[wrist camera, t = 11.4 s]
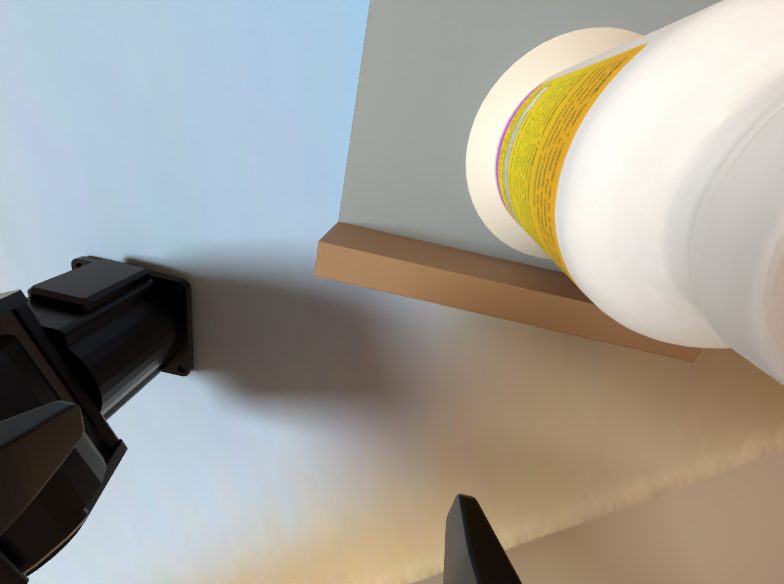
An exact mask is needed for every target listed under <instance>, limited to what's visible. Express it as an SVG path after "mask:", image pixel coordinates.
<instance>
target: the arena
mask: <svg viewBox="0 0 784 584" xmlns="http://www.w3.org/2000/svg"><path fill="white" fill-rule="evenodd" d="M720 1H723V0H370V5H369V12H368V19H367V26H366V33H365V40H364V47H363V54H362V61H361V68H360V75H359V82H358V89H357V96H356V102H355V109H354V116H353V123H352V130H351V137H350V144H349V151H348V158H347V165H346V172H345V179H344V186H343V193H342V200H341V207H340V214H339V221H338V222H337V223H336V224H335V225H334V226H333V227H332V228H331V229H330V230H329V231H328V232H327V233H326V234H325V235H324V236H323V237H322V238H321V239H320V240H319V241H318V250H317V258H316V266H315V274H314V276H318V277H323V278H327V279H332V280H336V281H340V282H345V283H349V284H353V285H358V286H362V287H367V288H371V289H375V290H380V291H384V292H388V293H393V294H397V295H401V296H406V297H410V298H415V299H419V300H423V301H428V302H432V303H436V304H441V305H445V306H450V307H454V308H458V309H463V310H467V311H471V312H476V313H480V314H484V315H489V316H493V317H498V318H502V319H506V320H511V321H515V322H519V323H524V324H528V325H533V326H537V327H541V328H546V329H550V330H554V331H559V332H563V333H567V334H572V335H576V336H581V337H585V338H589V339H594V340H598V341H602V342H607V343H611V344H616V345H620V346H624V347H629V348H633V349H637V350H642V351H646V352H650V353H655V354H659V355H664V356H668V357H672V358H677V359H681V360H685V361H690V362H694V361H695V359H696V358H697V356H698V355H699V353H700V352H701V350H702V349H703V348H698V347H687V346H681V345H676V344H670V343H666V342H662V341H659V340H655V339H653V338H650V337H647V336H645V335H642V334H639V333H637V332H635V331H633V330H630V329H628V328H627V327H625V326H623V325H622V324H620V323H618V322H617V321H615V320H614V319H612V318H611V317H609V316H608V315H607V314H605V313H604V312H603V311H602V310H600V309H599V308H598V307H597V306H596V305H595V304H594V303H593V302H592V301H591V300H590V299H589V298H588V297H587V296H586V295H585V294H584V293H583V292H582V291H581V290H580V289H579V288H578V287H577V286H576V285H575V283H574V282H573V281H572V280H571V279H570V278H569V277H568V276H567V275H566V274H565V273H564V272H563V271H562V269H561V268H560V267H559V266H558V265H557V264H556V263H555V262H554V261H553V260H552V259H551V258H550V257H549V256H548V255H547V254H546V253H545V252H544V250H543V249H542V248H541V247H540V246H539V245H538V244H537V243H536V242H535V241H534V240H533V239H532V238H531V237H530V236H529V235H528V234H527V233H526V232H525V231H524V230H523V229H522V228H521V227H520V225H519V224H518V223H517V222H516V221H515V220H514V219H513V218H512V217H511V215H510V214H509V213H508V211H507V210H506V208H505V207H504V205H503V203H502V201H501V199H500V197H499V194H498V190H497V187H496V182H495V176H494V161H495V153H496V148H497V144H498V140H499V137H500V134H501V132H502V130H503V127H504V125H505V123H506V121H507V120H508V118H509V116H510V115H511V113H512V112H513V110H514V109H515V108H516V106H517V105H518V104H519V102H520V101H521V100H522V99H523V98H524V97H525V96H526V95H527V94H528V93H529V92H530V91H531V90H532V89H534V88H535V87H536V86H537V85H539V84H540V83H541V82H543V81H544V80H546V79H547V78H549V77H551V76H553V75H555V74H557V73H559V72H561V71H563V70H565V69H567V68H569V67H572V66H574V65H576V64H578V63H581V62H583V61H585V60H588V59H590V58H592V57H595V56H597V55H600V54H602V53H604V52H607V51H609V50H612V49H614V48H616V47H619V46H621V45H624V44H626V43H628V42H631V41H633V40H635V39H637V38H640V37H642V36H644V35H647V34H649V33H651V32H653V31H656V30H658V29H660V28H663V27H665V26H667V25H669V24H672V23H674V22H676V21H678V20H680V19H683V18H685V17H687V16H689V15H692V14H694V13H696V12H698V11H700V10H703V9H705V8H707V7H709V6H711V5H714V4H716V3H718V2H720Z"/></svg>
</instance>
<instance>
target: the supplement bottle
mask: <svg viewBox="0 0 784 584" xmlns="http://www.w3.org/2000/svg"><path fill="white" fill-rule="evenodd" d="M494 176H495V182H496V187H497V190H498V194H499V197H500V199H501V201H502V203H503V205H504V207H505V208H506V210H507V211H508V213H509V214H510V215H511V217H512V218H513V219H514V220H515V221H516V222H517V223H518V224H519V225H520V227H521V228H522V229H523V230H524V231H525V232H526V233H527V234H528V235H529V236H530V237H531V238H532V239H533V240H534V241H535V242H536V243H537V244H538V245H539V246H540V247H541V248H542V249H543V250H544V252H545V253H546V254H547V255H548V256H549V257H550V258H551V259H552V260H553V261H554V262H555V263H556V264H557V265H558V266H559V267H560V268H561V269H562V271H563V272H564V273H565V274H566V275H567V276H568V277H569V278H570V279H571V280H572V281H573V282H574V283H575V285H576V286H577V287H578V288H579V289H580V290H581V291H582V292H583V293H584V294H585V295H586V296H587V297H588V298H589V299H590V300H591V301H592V302H593V303H594V304H595V305H596V306H597V307H598V308H599V309H600V310H602V311H603V312H604V313H605V314H607V315H608V316H609V317H611V318H612V319H614V320H615V321H617V322H618V323H620V324H622V325H623V326H625V327H627V328H628V329H630V330H633V331H635V332H637V333H639V334H642V335H645V336H647V337H650V338H653V339H655V340H659V341H662V342H666V343H670V344H676V345H681V346H687V347H698V348H721V349H725V348H732V349H733V350H734V351H736V352H737V353H739V354H740V355H741V356H743V357H744V358H745V359H747V360H748V361H750V362H751V363H752V364H754V365H755V366H756V367H758V368H759V369H761V370H762V371H764V372H765V373H766V374H768V375H769V376H771V377H772V378H773V379H775V380H776V381H778V382H779V383H780V384H782V385H783V386H784V0H723V1H720V2H718V3H716V4H714V5H711V6H709V7H707V8H705V9H703V10H700V11H698V12H696V13H694V14H692V15H689V16H687V17H685V18H683V19H680V20H678V21H676V22H674V23H672V24H669V25H667V26H665V27H663V28H660V29H658V30H656V31H653V32H651V33H649V34H647V35H644V36H642V37H640V38H637V39H635V40H633V41H631V42H628V43H626V44H624V45H621V46H619V47H616V48H614V49H612V50H609V51H607V52H604V53H602V54H600V55H597V56H595V57H592V58H590V59H588V60H585V61H583V62H581V63H578V64H576V65H574V66H572V67H569V68H567V69H565V70H563V71H561V72H559V73H557V74H555V75H553V76H551V77H549V78H547V79H546V80H544V81H543V82H541V83H540V84H539V85H537V86H536V87H535V88H534V89H532V90H531V91H530V92H529V93H528V94H527V95H526V96H525V97H524V98H523V99H522V100H521V101H520V102H519V104H518V105H517V106H516V108H515V109H514V110H513V112H512V113H511V115H510V116H509V118H508V120H507V121H506V123H505V125H504V127H503V130H502V132H501V134H500V137H499V140H498V144H497V148H496V153H495V161H494Z"/></svg>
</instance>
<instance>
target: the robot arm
mask: <svg viewBox="0 0 784 584" xmlns="http://www.w3.org/2000/svg"><path fill="white" fill-rule="evenodd" d="M71 266H72V270H71V271H69V272H66V273H64V274H61V275H59V276H56V277H54V278H51V279H49V280H46V281H44V282H41V283H38V284H36V285H33V286H32V287H31V288H30V289H28V295H29V297H25V295H24V294H23V292H22V291H21V289H20V290H15V291H10V292H6V293H1V294H0V584H27V583H28V581H29V578H28V577H27V576H29V575H30V574H32V573H33V572H35V571H36V570H38V569H39V568H40V567H42V566H43V565H44V564H45V563H47V562H48V561H49V560H50V559H52V558H53V557H54V556H55V555H56V554H57V553H58V552H59V551H60V550H62V549H63V548H64V547H65V546H66V545H67V544H68V543H69V542H70V540H71V539H72V538H73V537H74V536H75V535H76V534H77V532H78V531H79V530H80V528H81V527H82V525H83V524H84V522H85V521H86V519H87V517H88V516H89V514H90V512H91V510H92V509H93V507H94V505H95V504H96V502H97V500H98V498H99V497H100V495H101V493H102V492H103V490H104V488H105V486H106V485H107V483H108V481H109V480H110V478H111V476H112V475H113V473H114V471H115V469H116V468H117V466H118V464H119V463H120V461H121V459H122V457H123V456H124V454H125V452H126V451H127V447H126V445H125V444H124V442H123V441H122V439H118V437H117V436H116V434H115V433H114V431H113V430H112V429H111V427H110V426H109V424H108V423H107V421H106V420H107V419H109V418H110V417H111V416H112V415H113V414H114V413H115V412H116V411H117V410H119V409H120V408H121V407H122V406H123V405H124V404H125V403H126V402H127V401H129V400H130V399H131V398H132V397H133V396H134V395H135V394H136V393H138V392H139V391H140V390H141V389H142V388H143V387H144V386H145V385H146V384H148V383H149V382H150V381H151V380H152V379H153V378H154V377H155V376H156V375H158V374H159V373H160V372H161V371H162V372H166V373H170V374H175V375H179V376H187V375H188V374H189V373H190V372H191V371H192V370H193V348H192V318H191V289H190V285H189V284H188V282H187V281H185V280H184V279H181V278H177V277H172V276H168V275H164V274H159V273H155V272H151V271H149V270H147V269H145V268H142V267H138V266H134V265H129V264H125V263H120V262H116V261H112V260H107V259H99V260H98V259H94V258H90V257H85V256H81V257H79V258H76V259H74V260H72V262H71ZM177 285H178V286H180V288H181V289H182V291H181V290H180V289H179V288H178V286H177ZM183 367H184V368H185V369H184V368H183ZM443 584H522V583H521V581H520V579H519V577H518V575H517V573H516V571H515V570H514V568H513V566H512V564H511V562H510V560H509V559H508V557H507V555H506V553H505V551H504V549H503V547H502V546H501V544H500V542H499V540H498V538H497V536H496V535H495V533H494V531H493V529H492V527H491V525H490V523H489V522H488V520H487V518H486V516H485V514H484V512H483V511H482V509H481V507H480V505H479V503H478V501H477V500H476V499H475V498H474V497H472V496H468V495H464V494H458V495H457V496H456V498H455V500H454V502H453V504H452V507H451V509H450V511H449V513H448V516H447V520H446V533H445V557H444V580H443Z"/></svg>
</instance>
